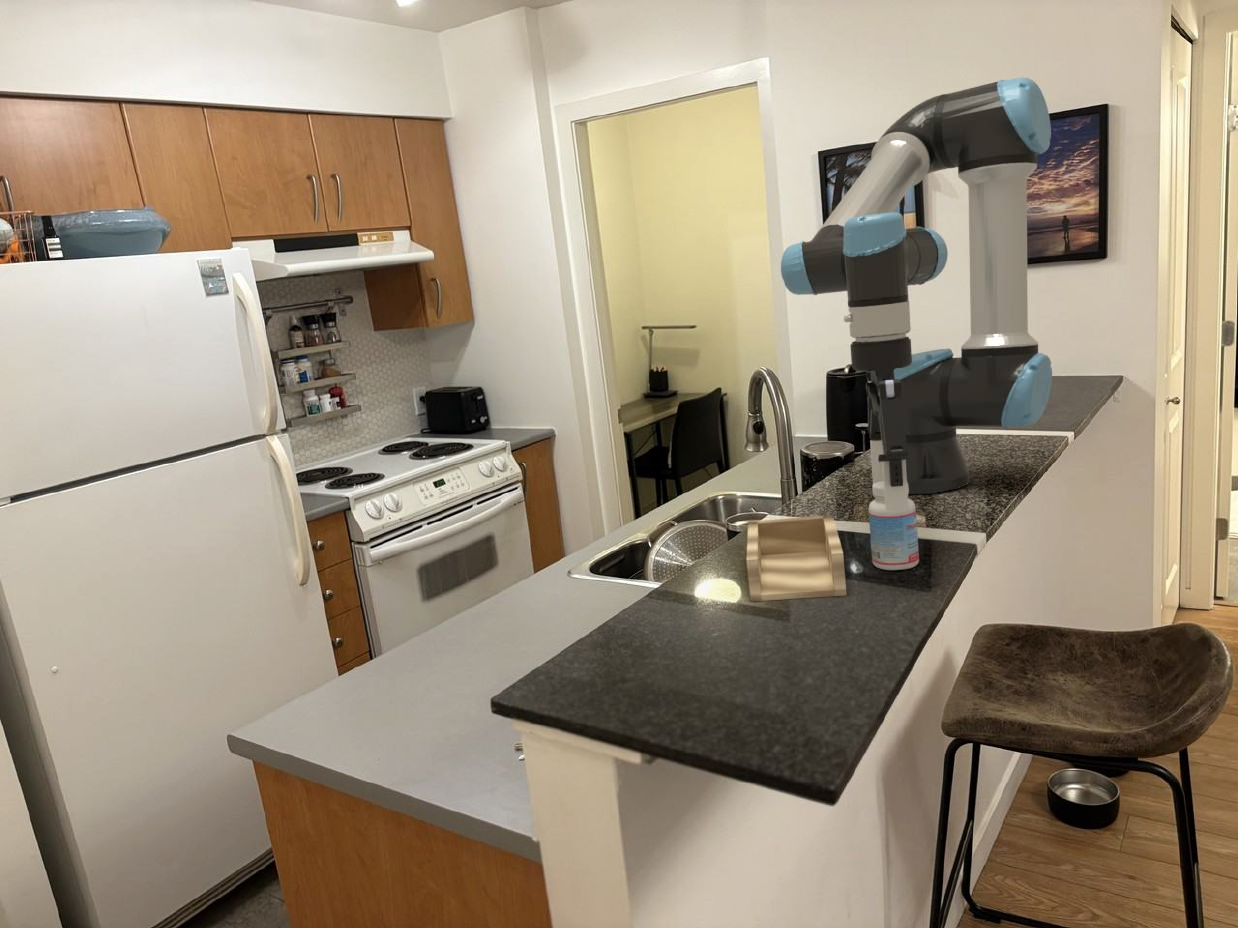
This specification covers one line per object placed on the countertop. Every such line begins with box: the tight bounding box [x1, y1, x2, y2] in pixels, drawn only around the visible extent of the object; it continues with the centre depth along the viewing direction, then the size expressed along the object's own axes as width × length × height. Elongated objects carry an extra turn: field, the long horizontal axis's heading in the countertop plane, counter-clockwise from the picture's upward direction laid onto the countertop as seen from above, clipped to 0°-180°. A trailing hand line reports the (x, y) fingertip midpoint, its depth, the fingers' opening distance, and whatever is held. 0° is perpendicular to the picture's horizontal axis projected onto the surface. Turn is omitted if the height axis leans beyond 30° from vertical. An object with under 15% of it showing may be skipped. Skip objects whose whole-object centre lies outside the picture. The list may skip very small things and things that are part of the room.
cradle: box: [746, 514, 847, 602], centre depth 125 cm, size 18×12×6 cm
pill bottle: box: [868, 481, 920, 571], centre depth 124 cm, size 6×6×11 cm
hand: (889, 497), depth 123 cm, fingers open, 13 cm apart
